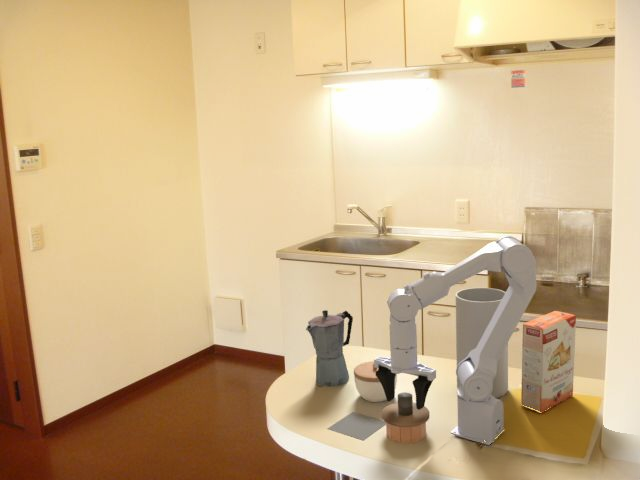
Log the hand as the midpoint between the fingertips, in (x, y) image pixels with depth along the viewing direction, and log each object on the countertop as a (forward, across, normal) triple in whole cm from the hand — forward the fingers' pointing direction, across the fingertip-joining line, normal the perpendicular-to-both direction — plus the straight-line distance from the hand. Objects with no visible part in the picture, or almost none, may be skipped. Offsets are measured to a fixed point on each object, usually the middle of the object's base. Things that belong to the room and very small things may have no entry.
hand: (405, 403), depth 147 cm
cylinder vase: (+8, +4, +30) cm, 31 cm away
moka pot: (+8, -32, +15) cm, 36 cm away
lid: (+3, 0, 0) cm, 3 cm away
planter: (+7, 0, 0) cm, 7 cm away
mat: (+7, -11, -3) cm, 14 cm away
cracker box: (+8, +20, +32) cm, 38 cm away
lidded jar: (+8, -16, +12) cm, 21 cm away
